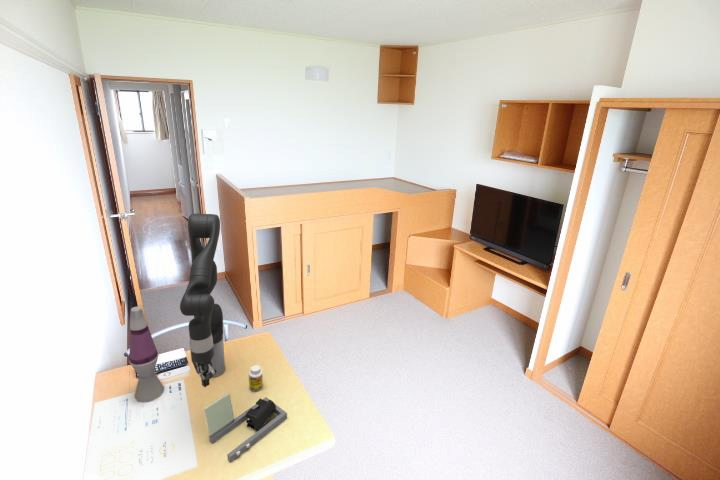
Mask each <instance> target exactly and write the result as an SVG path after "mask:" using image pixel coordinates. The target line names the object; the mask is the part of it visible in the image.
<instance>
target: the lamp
mask: <svg viewBox="0 0 720 480" xmlns="http://www.w3.org/2000/svg"><path fill="white" fill-rule="evenodd" d="M129 318H130V319H129V330H130V331H129V332H130V333H129V360H128V363H129V364H130V366H131V367H132V369H133V370H134V371H135V372H136V374H137V375H138V376H139V377H138V380H137V383H136V384H137V385H136V389H135V392H134V399H135V400H136V401H137V402H141V403H146V402H152V401H154V400H156V399H159V397H161V395H162V394H163V393H164V391H165V386H164V385H163V383H162V382H161V380H160V379H159V377H158V376H157V374H156V373H155V370H156V369H155V368H156V366H157V362H158V357H159V352H158V349H157V347H156V345H155V342H154V339H153V336H152V333H151V331H150V328H149V325H148V322H147V319H146V316H145V314H144V311H143V309H142V307H141V306H138V305H137V306H134V307H131V309H130V317H129Z"/></svg>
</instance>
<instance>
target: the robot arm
mask: <svg viewBox="0 0 720 480" xmlns="http://www.w3.org/2000/svg"><path fill="white" fill-rule="evenodd" d="M187 218H188V219H187V230H188V238H189V244H190V245H189V246H190V252H191V266H190V271H189V278H188V279H189V280H188V283H187V286H186V289H185V291H184V294H182V295H183V296H182V297H181V300H180V303H179V309H180V312H181V314H182V315H184V316H186V317H187V316H188V317H189V316H190V317H191V316H192V317H193V318H192V319H190V321H189V322H188V334H189V351H190V358H191V360H190V361H191V363H192V364H193V366H194V369H195V372H196V373H197V375H199V377H200V379H201V386H203V387H204V388H207V387H209V386H210V384H211V383H210V379H212V378H217V377H220V376H222V375H223V374H224V373H225V371H226V361H225V346H224V314H223V310H222V307H221V305H220V304H218V303H215V299H214V297H213V296H212V295H211V294H212V292H213V290H214V289H215V287H216V285H217V282H218V265H217V264H216V262H215V260H214V259H215V255H216V251H217V248H218V247H217V246H218V243H219V242H218V241H219V238H220V233H221V232H220V231H221V219H220V216H218V214H213V213H190V215H189V216H188V217H187ZM201 239H208V240H207V243H206V245H205V247H204V246H203V244H202V242H201Z"/></svg>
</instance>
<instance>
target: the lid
mask: <svg viewBox="0 0 720 480" xmlns="http://www.w3.org/2000/svg"><path fill="white" fill-rule="evenodd" d="M203 409H204V413H205V417H206V424H207V428H208V434H209V436H210V437H212V436H214V435H215V434H216V433H218V432H219V431H221V430H222V429H224V428H225V427H226V426H228V425H229V424H231V423H232V422H234V421H235V420H234V419H235V415H234V410H233V403H232V398H231V394H230V393H229V392H228V393H227V394H224V395H223V396H222V397H220V398H219V399H217V400H216V401H214V402H212V403H210V404H209V405H208V406H206V407H204V408H203Z"/></svg>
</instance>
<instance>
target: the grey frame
mask: <svg viewBox="0 0 720 480" xmlns="http://www.w3.org/2000/svg"><path fill="white" fill-rule="evenodd" d="M262 399H263V400H265V401H268V400H269V398H268V397H267V396H265V397H264V398H262ZM274 404H275V406H276V410H275V412H274V413H273V414H275V415H276V417H274V418H273V419H271V420H270V421H269V422H268V423H266V424H264V425H263V426H262V427H261V428H260V429H259V430H256V432H255V433H253V434H252V435H251V436H249V437H248V438H247V439H245V440H244V441H242V442H241V443H240V444H239V445H238V446H237V447H235V448H233V449H232V450H231V451H230V452H228V453H227V454H226V455H227V461H228V462H229V463H232V462H233V461H234V460H236V459H237V458H239V456H242V454H243V453H245V452H246V451H247V450H248V449H250V448H251V447H252V446H253V445H255V444H256V443H257V442H258V441H259V440H261V439H262V438H264V437H265V436H266V435H268V433H270V432H271V431H273V429H275V428H277V427H278V426H279V425H280V424H282V422H284V421H285V420H286V419H287V418H288V412H286V410H284V409H282V408H281V407H280V406H278V405H277V404H276V403H275V402H274ZM251 408H252V409H254V410H257V409H259V408H260V406H259V405H257V404H256V403H255V404H254V405H252V406H251V407H249V408H248V409H247V410H245V411H244V412H242V413H241V414H239V415H238V416H237V417H234V420H235V421H234V422H232V423H231V424H229V425H228V426H226V427H225V428H224V429H222V430H221V431H219V432H218V433H216V434H215V435H214V436H212V437H210V435H209V436H208V438H209V439H208V440H209V441H208V442H210V444H211V445H213V444H214V443H216V442H217V441H218V440H220V439H222V437H224V436H226V435H227V434H229V433H230V432H231V431H233V430H234V429H235V428H237V427H238V426H240V425H241V424H242V423H244V422H246V419H247V420H249V419H248V418H246V413H247V412H248V411H249V410H250V409H251Z"/></svg>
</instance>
